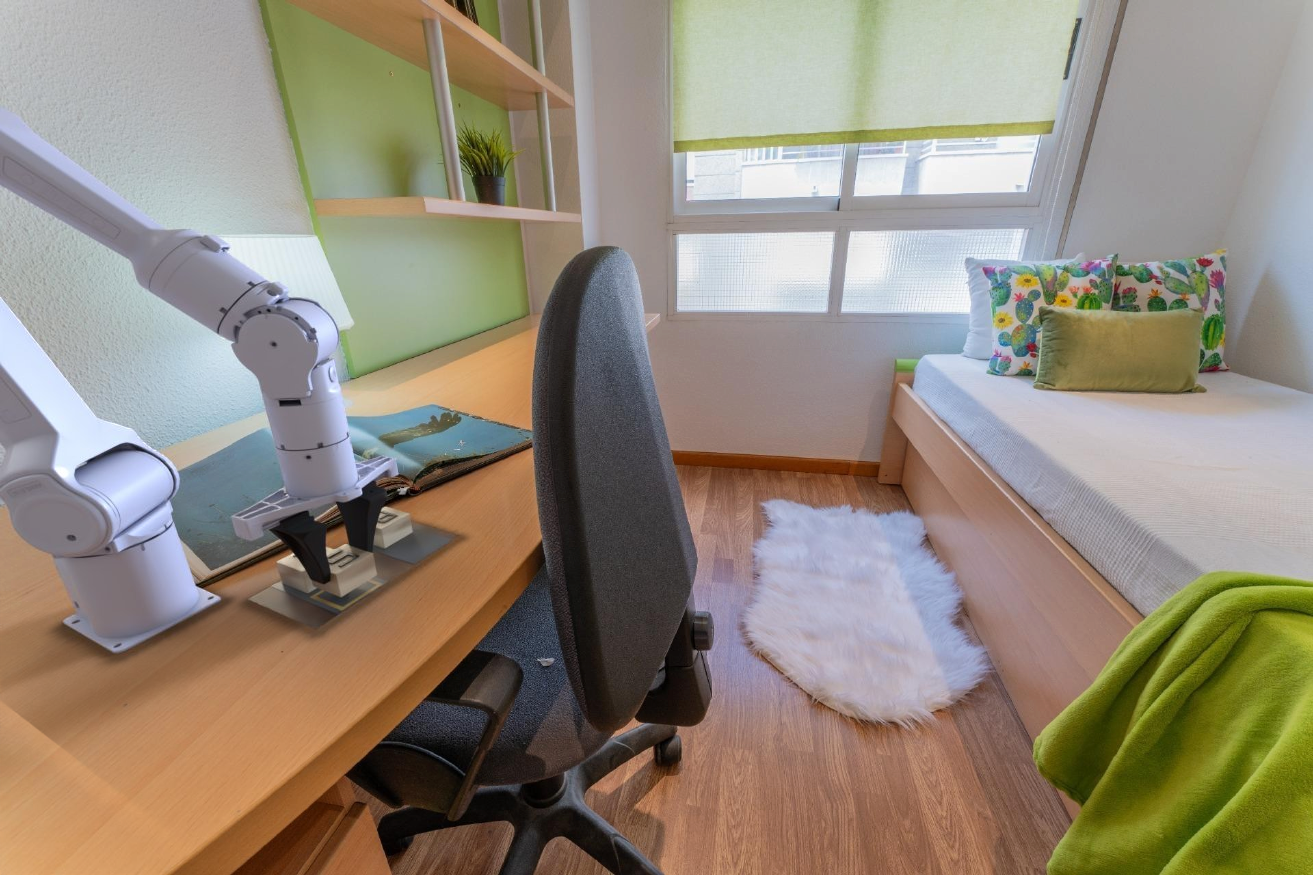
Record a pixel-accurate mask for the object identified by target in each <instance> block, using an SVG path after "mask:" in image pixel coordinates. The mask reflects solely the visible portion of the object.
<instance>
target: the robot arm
mask: <svg viewBox="0 0 1313 875" xmlns="http://www.w3.org/2000/svg"><path fill="white" fill-rule="evenodd" d="M0 186H1V187H3V188H4V189H6V190H8V191H9V192H11V193H13V194H15V195H16V196H18V197H19V198H21V199H23V200H25V201H27V202H29V203H31V204H32V205H33V206H36V207H37V208H39V209H41V210H43V211H44V212H46V213H48V214H49V215H51V216H53V217H55V218H56V219H58V220H60V221H62V222H63V223H65V224H67V225H68V226H70V227H72V228H74V229H75V230H77V231H79V232H80V233H82V234H84V235H85V236H87V237H89V238H91V239H92V240H94V241H96V242H98V243H99V244H101V245H102V246H104V247H106V248H108V249H110V250H112V251H113V252H114V253H117V254H118V255H120V256H122V257H123V258H125V259H127V260H129V262H130V263H131V265H132V269H133V272H134V276H135V280H136V282H137V283H138V285H139V286H140V287H141V288H143V289H145V290H146V291H147V292H149V293H150V294H153V295H154V296H156V297H157V298H159V299H161V300H162V301H164V302H165V303H167V304H168V305H170V306H172V307H174V308H175V309H177V310H178V311H180V312H181V313H183V314H185V315H187V316H188V317H190V318H191V319H193V320H194V321H196V322H197V323H199V324H200V325H203V326H204V327H206V328H207V329H209V330H210V331H212V332H213V333H215V334H217V335H218V336H220V337H221V338H223V339H225V340H227V341H229V342H232V343H231V344H230V347H231V349H232V351H233V353H234V355H235V357H236V358H237V360H238V361H239V362H240V363H241V365H243V367H245V369H247V370H248V371H250V373H252V374H253V375H254V376H255V378H256V379H257V381H258V385H259V389H260V393H261V397H262V401H263V405H264V406H263V407H264V409H265V412H266V413H265V414H266V417H267V420H268V424H269V425H268V426H269V429H270V433H271V437H272V441H273V444H274V449H275V452H276V458H277V462H278V464H279V469H280V473H281V476H282V480H283V483H284V486H282V487H281V488H279V489H278V490H276V491H275V492H273V493H272V494H270V495H268V496H266V497H265V498H263V499H261V500H260V501H258V502H256V503H254V504H253V505H251V506H250V507H248V508H246V509H243V510H242V511H239V512H237V513H235V514H232V515H230V519H231V522H232V525H233V526H232V527H233V529H234V532H235V535H236V537H238V538H241V539H243V540H246V541H249V542H254V541H256V540H258V539H261V538H263V537H264V535H265V534H264V532H266V531H267V532H268V531H269V532H271V534H273V535H274V536H276V537H277V538H278V539H279V540H280V541H281V542H282V543H283V544H284V545H285V546H286V547H287V548H288V549H289V550H290V551H291V552H292V554H293V553H294V555H295V556H296V557H297V558H298V560H299V561H300V562H301V564H302V565H303V567H304V569H305V570H306V572H307V574H308V576H309V578H310V579H311V580H313V581H316V582H318V583H321V584H326V583H328V582H330V573H331V571H330V566H329V562H328V558H327V553H326V547H327V530H328V524H326V523H323V522H321V521H317V520H315V516H314V515H310V512H311V511H314V510H316V509H318V508H320V507H323V506H326V505H330V504H333V503H335V504H336V506H337V509H338V511H339V513H340V515H341V518H342V521H343V524H344V528H345V533H346V537H347V541H348V545H349V546H352V547H355V548H358V549H361V550H364V551H368V552H371V553H373V544H374V536H375V530H376V526H377V522H378V518H379V515H380V513H381V510H382V508H384V507H385V504H386V503H387V500H388V493H387V488H384V487H382V486H378V485H377V482H378V481H380V480H381V481H382V480H383V479H385V478H386V479H391V478H394V477H397V476H399V470H398V464H397V463H398V462H397V458H395V457H393V456H388V455H384V454H381V455H379V456H376V457H374V458H370V459H367V460H362V461H358V462H356V460H355V453H354V449H353V444H352V440H351V435H350V429H349V423H348V419H347V413H346V408H345V404H344V398H343V393H342V388H341V385H340V383H339V382H340V381H339V378H338V371H337V367H336V363H335V359H334V358H333V357H331V356H333V354H334V353H335V352H336V351H337V349H338V346H339V344H340V338H341V336H340V330H339V327H338V324H337V322H336V320H335V318H334V317H333V315H331V314H330V312H329V311H327V310H326V309H325V308H324V307H323V305H321V303H320V302H319V301H317V300H314V299H312V298H309V297H306V296H305V297H304V296H289V293H290V288H289V287H287V286H286V285H285V284H283V283H282V282H281V281H274V282H271V281H270V280H268V279H267V278H265V277H264V276H263V275H261V274H260V273H258V272H257V271H255V270H254V269H252V268H251V267H249V266H247V265H246V264H245V263H244V262H242V261H240V260H239V259H237V258H236V257H235V256H233V255H232V254H230V253H228V252H229V250H230V249H231V244H229V243H228V242H226V240H224V239H222V238H220V237H219V236H218V235H217V234H204V235H203V234H201V233H200V232H199V231H196V230H195V229H190V228H189V229H188V228H175V229H166V227H164V226H162V225H161V224H160V223H158V221H155V220H154V219H153V218H152V217H150V216H148V215H147V214H146V213H144V212H143V211H142V210H140V208H138V207H136V206H135V205H134V204H133V203H131V202H129V201H128V199H127V200H126V198H124V197H123V196H122V195H119V194H118V193H117V192H116V191H114V190H113V189H112V188H111V187H109V186H108V185H106V184H105V183H104V182H102V181H101V180H100V179H98V178H97V177H95V175H93V174H91V173H90V172H88V170H86V169H85V168H83V167H82V166H81V165H79V164H78V163H77V162H75V161H73V160H72V159H71V158H69V157H68V156H67V155H65V154H64V153H63V152H61V151H60V150H59V149H57V148H56V147H55V146H53V145H52V144H51V143H49V142H48V141H47V140H45V139H43V138H42V137H41V136H39V135H38V134H37V133H35V132H34V131H33V130H32V129H31V128H30V127H29V126H28V125H27V123H26V122H25V121H24V120H23V119H22V118H21V116H19V115H18V114H16V113H14V112H12V111H10V110H8V109H7V108H5V107H3V106H1V105H0ZM7 304H8V303H6V301H5V300H4V299H3V298H2V297H1V296H0V445H1V446H2V447H3V448H4V450H5V453H4V456H3V458H2V461H1V463H0V499H1V501H3V502H4V504H5V506H6V508H7V510H8V513H9V518H10V523H11V526H12V527H13V529H14V531H15V532H16V534H17V535H18V536H19V537H20V538H21V539H22V540H23V541H24V542H26V543H27V545H30V546H31V547H33V548H34V549H36V550H38V551H41V552H43V553H45V554H49V555H51V557H52V559H53V563H54V566H55V569H56V571H57V573H58V575H59V577H60V579H61V582H62V584H63V586H64V588H65V591H66V592H67V595H68V598H69V599H70V601H71V603H72V606H73V608H74V611H75V613H74V614H71V615H70V616H68V617H66V618H64V619H63V620H62V623H63V624H64V625H65V626H67V627H68V628H70V629H72V630H74V631H75V632H77V633H79V634H81V635H82V636H84V637H85V638H87V639H89V640H91V641H92V642H94V643H96V644H97V645H99V646H101V647H103V648H104V649H106V650H107V651H109V652H111V653H113V654H116V655H117V654H121V653H124V652H125V651H127V650H130V649H132V648H134V647H135V646H137V645H139V644H141V643H143V642H145V641H147V640H149V639H151V638H152V637H155V636H157V635H159V634H160V633H162V632H164V631H166V630H168V629H170V628H172V627H174V626H175V625H177V624H180V623H181V622H184V621H185V620H187V619H189V618H191V617H193V616H195V615H197V614H198V613H201V612H203V611H205V610H206V609H208V608H210V607H212V606H214V605H216V604H218V603H220V602H221V600H222V598H221V596H219V595H217V594H214V593H212V592H210V591H208V590H205V589H203V588H201V587H199V586H197V585H196V582H195V579H194V577H193V574H192V570H191V569H190V565H189V562H188V560H187V557H186V554H185V551H184V549H183V545H182V542H181V540H180V537H179V534H178V530H177V528H176V525H175V522H174V520H173V516H172V513H173V512H174V509H173V506H172V503H171V499H173V498H174V496H176V494H177V493H178V490H179V488H180V484H181V480H180V474H179V471H178V469H177V467H176V466H175V465H174V463H173V462H172V461H171V460H170V459H169V457H167V456H166V455H164V454H163V453H161V452H159V451H158V450H156V449H154V448H152V447H151V446H149V445H147V443H145V442H144V441H143V440H142V438H140V437H139V435H138V434H137V432H136V431H135V430H134V429H132V428H130V427H127V426H124V425H121V424H117V423H114V422H110V421H108V420H104V419H101V418H99V417H97V416H96V414H95V413H94V412H93V411H92V410H91V408H90V407H89V406H88V405H87V403H86V402H85V401H84V400H83V398H82V397H81V396H80V395H79V393H78V392H77V391H76V390H75V388H74V387H73V386H72V384H71V383H70V382H69V381H68V380H67V378H66V377H65V375H63V373H62V372H61V370H59V368H58V367H57V365H55V363H54V362H53V361H52V359H51V358H50V357H49V356H48V354H47V353H46V352H45V350H43V348H42V347H41V346H40V344H39V343H38V342H37V341H36V340H35V338H34V337H33V336H32V334H31V333H30V332H29V330H27V328H26V327H25V326H24V324H23V323H22V322H21V321H20V319H19V318H18V316H16V314H15V313H14V312H13V311H12V309H11V308H10V307H9V306H8V305H7ZM84 462H85V463H84ZM83 463H84V464H83ZM81 464H82V465H81Z"/></svg>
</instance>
